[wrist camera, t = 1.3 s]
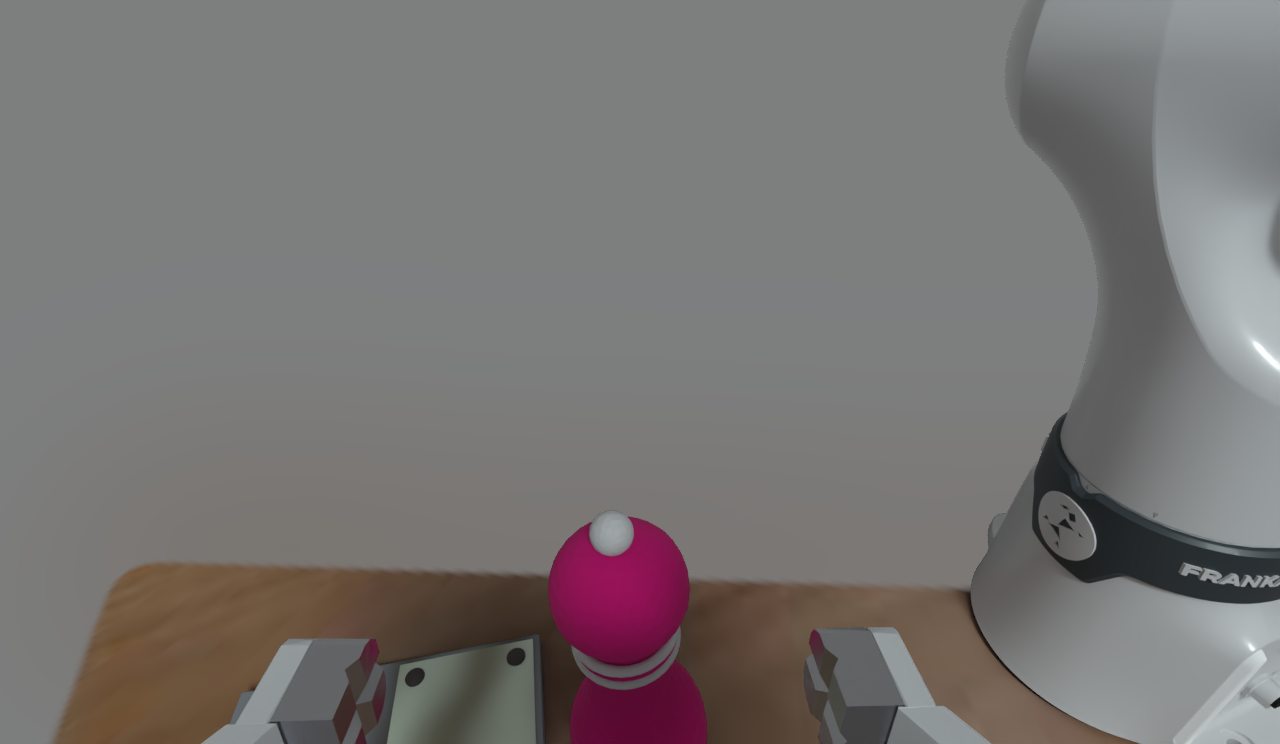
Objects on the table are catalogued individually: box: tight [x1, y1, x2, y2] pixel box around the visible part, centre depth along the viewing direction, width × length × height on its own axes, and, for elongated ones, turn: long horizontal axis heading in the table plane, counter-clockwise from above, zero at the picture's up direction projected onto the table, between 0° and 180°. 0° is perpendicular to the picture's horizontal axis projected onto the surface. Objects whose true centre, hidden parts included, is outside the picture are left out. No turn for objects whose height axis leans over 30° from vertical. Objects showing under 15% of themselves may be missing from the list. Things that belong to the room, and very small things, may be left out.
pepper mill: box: [548, 510, 707, 744], centre depth 29 cm, size 7×7×20 cm
